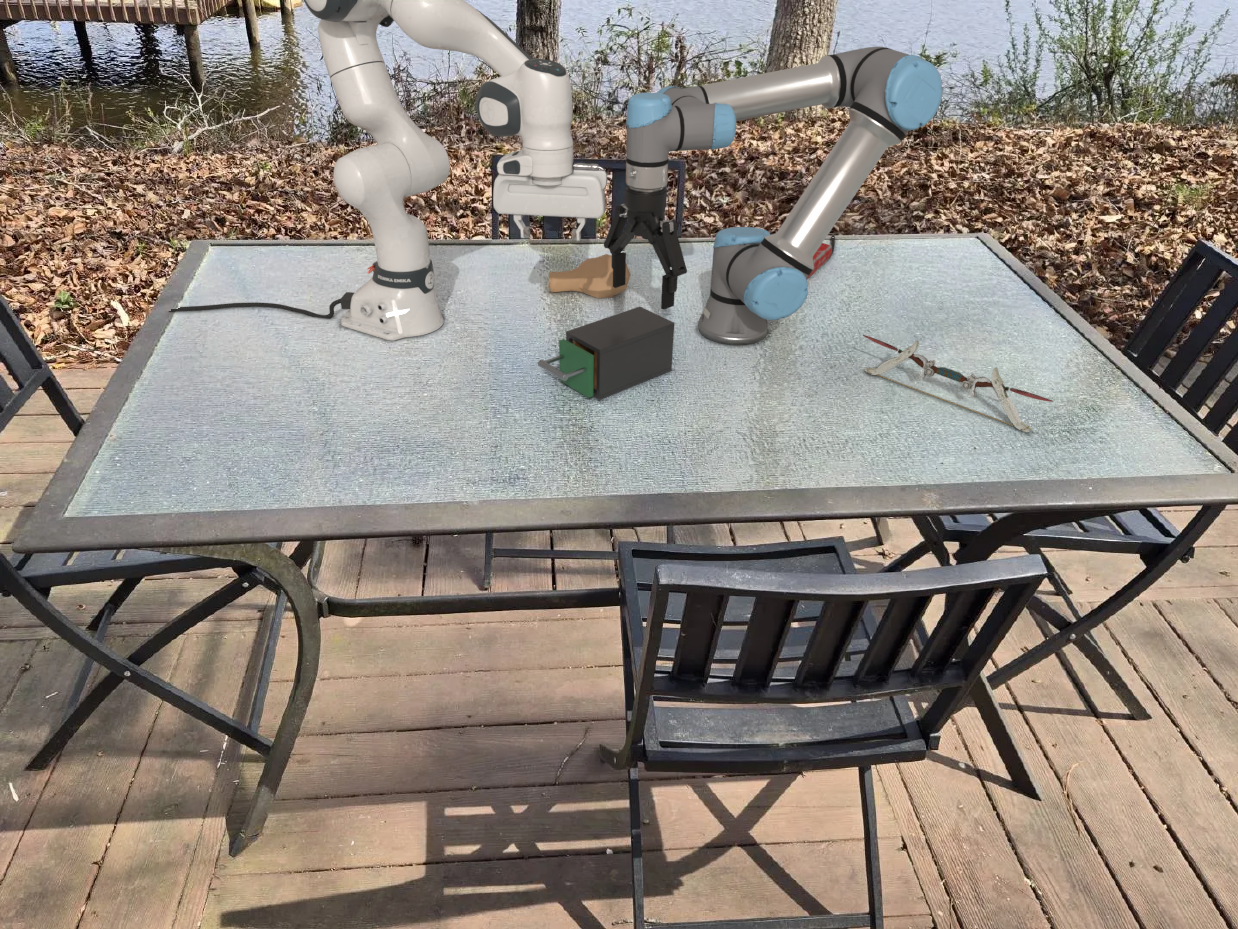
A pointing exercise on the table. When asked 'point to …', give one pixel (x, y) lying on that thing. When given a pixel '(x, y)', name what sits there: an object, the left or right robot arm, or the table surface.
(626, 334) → the dark grey box
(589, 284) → the squash
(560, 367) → the drawer
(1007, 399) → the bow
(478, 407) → the table surface
